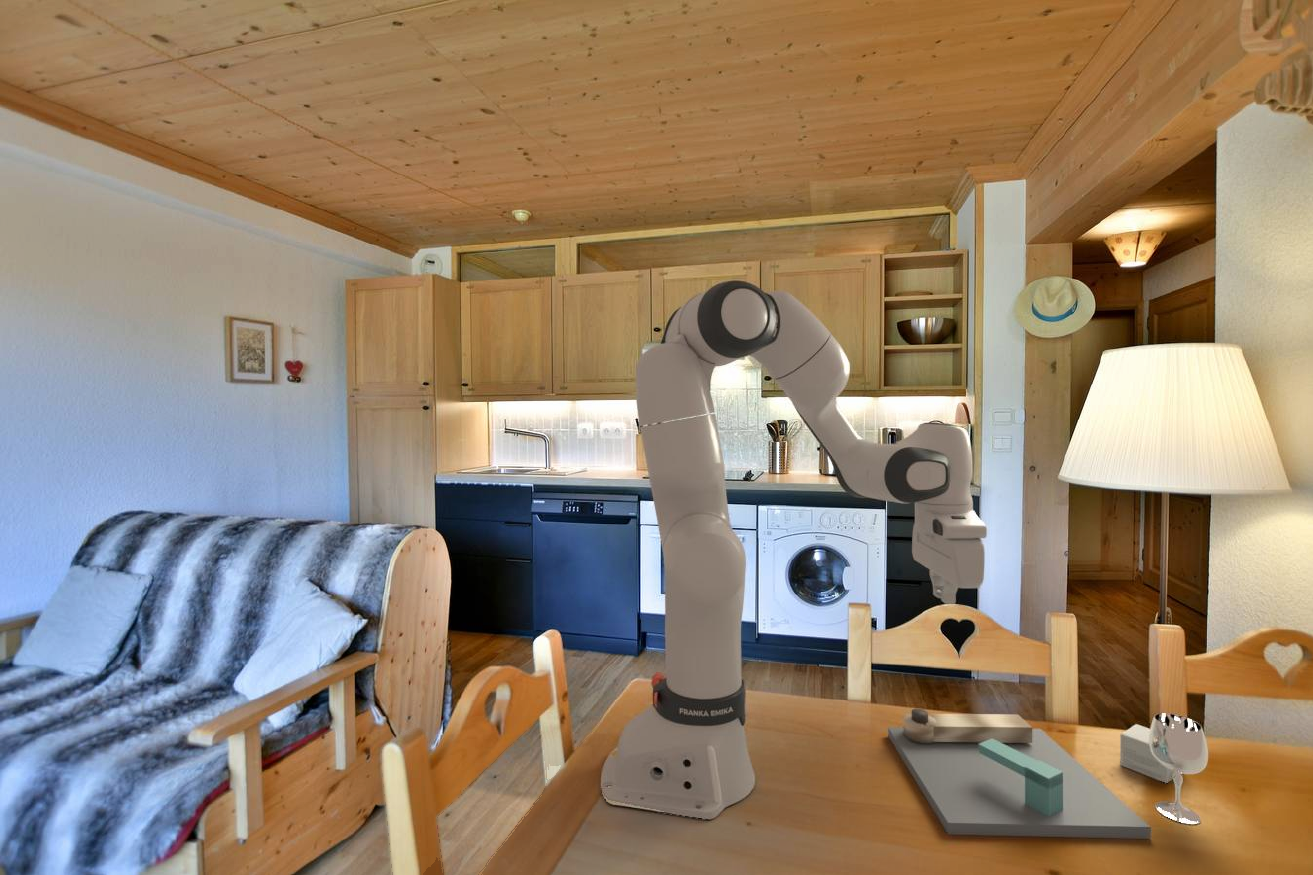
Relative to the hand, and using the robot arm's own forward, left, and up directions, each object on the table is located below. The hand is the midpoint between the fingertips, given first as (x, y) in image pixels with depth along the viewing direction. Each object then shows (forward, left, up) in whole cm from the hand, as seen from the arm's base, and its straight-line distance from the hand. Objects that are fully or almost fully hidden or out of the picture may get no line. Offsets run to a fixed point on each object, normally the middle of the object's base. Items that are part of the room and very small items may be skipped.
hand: (944, 599), depth 100 cm
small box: (+24, -13, -21) cm, 34 cm away
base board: (+1, -16, -21) cm, 27 cm away
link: (0, -7, -19) cm, 21 cm away
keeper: (+1, -21, -20) cm, 29 cm away
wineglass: (+20, -23, -21) cm, 37 cm away
